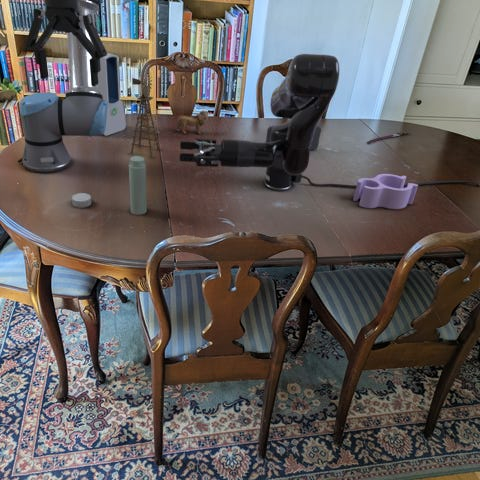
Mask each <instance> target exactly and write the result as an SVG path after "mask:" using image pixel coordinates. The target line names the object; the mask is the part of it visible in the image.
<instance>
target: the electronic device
mask: <svg viewBox="0 0 480 480" xmlns="http://www.w3.org/2000/svg"><path fill="white" fill-rule="evenodd" d="M100 67H101V70H100V72H98V84H97V89H98V91H99V92H100V93H101V94H102V95H103V100H106V101H107V120H106V128H105V132H104V134H103V135H102V136H105V137H107V136H110V135H112V134H113V135H114V134H117V133H119V132H121V131H124V130H125V129H126V127H127V123H126V114H125V107H124V102H123V101H122V100H121V91H120V70H119V69H120V68H119V56H118V55H115V54H112V53H109V52H107V55H106V56H105V57H102V58H100Z"/></svg>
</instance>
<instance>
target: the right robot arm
mask: <svg viewBox="0 0 480 480" xmlns="http://www.w3.org/2000/svg"><path fill="white" fill-rule="evenodd" d="M339 80H340V62H339V60H338V58H337V57H336V56H334V55H330V54H315V53H299V54H296V55H295V56H294V57H293V58H292V59H291V61H290V64H289V67H288V70H287V73H286V76H285V77H284V79H283V80H282V81H281V83H280V85H279V86H277V87H275V88H274V90H273V92H272V94H271V97H270V101H269V103H270V111H271V114H272V115H273V116H274V117H276V118H281V119H289V120H288V121H286V122H284V123H281V124H277V125H273V126H274V127H273V128H272V131H271V139H270V142H269V143H266V142H265V141H264V142H260V141H250V140H243V139H221V142H220V144H217V139H211V138H198V137H197V138H195V140H193V141H192V140H191V141H189V140H181V141H180V142H179V143H180V145H179V146H180V147H179V148H180V150H189V151H193V150H194V151H196V152H195V153H193V152H180V153H179V161H180V162H187V163H188V162H189V163H194V164H195V165H196V167H211V168H213V167H214V168H215V167H216V168H217V167H219V163H220V166H221V167H224V168H225V167H226V168H227V167H228V168H265V169H266V170H265V174H264V175H265V176H264V178H265V179H264V182H263V184H264V186H265V187H267V188H268V189H270V190H274V191H280V192H281V191H288V190H290V189H291V188H292V187H294V184H296V183H301V182H302V179H305V180H307V181H308V183H309V184H310V185H311V186H314V187H341V188H353V189H354V188H355V189H356V187H357V184H356V185H354V184H353V185H352V184H342V183H341V184H340V183H322V184H318V183H314V182H312V181H311V179H310V178H309V177H307V176H305V175H304V174H303V173H304V172H305V171H306V170H307V169H308V167H309V162H310V155H311V150H310V146H311V143H312V140H313V136H314V133H315V130H316V127H317V125H318V124H319V123H320V121H321V119H322V117H323V115H324V114H325V112H326V110H327V109H328V107H329V104H330V103H331V101H332V99H333V97H334V95H335V93H336V91H337V88H338V84H339ZM318 126H319V125H318ZM463 181H465V182H463ZM469 182H471V183H469ZM474 183H476V184H475V185H476V186H477V187H478V188H480V183H479V182H477V181H474V180H441V181H429V182H418V183H416V184H417V185H418V186H425V185H440V184H474ZM407 185H408V183H407V184H404V186H403V188H406V187H407Z"/></svg>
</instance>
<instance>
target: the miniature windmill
mask: <svg viewBox="0 0 480 480" xmlns="http://www.w3.org/2000/svg"><path fill="white" fill-rule="evenodd" d="M148 74H149V75H148ZM148 74H147V70H145V73H143V77H142V79H143V80H141V79H138V78H136V77H135V78H134V77H132V78H131V81H132V82H131V83H132V86H133V85H134V86H137V85H138V86H140V85H141V88H142V89H141V90H142V94H141V95H140V96H138V97H137V98H136V99H137V100H139V101H140V104H139V105H138V107H139V109H138V111H137V112H138V114H137V117H136V124H135V128H134V134H133V136H132V138H133V140H132V143H131V149H130V154H131V155H132V154H133V153H134V149H135V146H137V147H143V148H148V149H149V157H150V158H153V149H152V148H153V147H154V146H155V145H156V148H157V150H160V145H159V139H158V137H157V133H156V127H155V122H154V119H153V116H154V115H153V114H152V110H151V104H150V101H152V100H153V99H154V97H153V96H149V95H150V93H151V90H152V87H151V86H152V85H153V82H152V81H153V79H152V77H153V76H152V73H151V70H148ZM151 82H152V83H151ZM144 109H145V113H144ZM148 113H149V114H148ZM144 117H146V118H144ZM143 121H146V125H144V124H143ZM149 121H151V126H150V122H149ZM139 124H140V126H139ZM143 127H144V128H145V127H146V128H147V131H146V130H143ZM150 129H151V130H150ZM152 132H153V135H154V138H151V133H152ZM142 133H146V134H147V137H142ZM137 136H139V137H137ZM136 137H137V139H136ZM143 139H144V140H148V144H149V145H144V144H142V140H143ZM137 141H138V143H137V144H136V142H137ZM152 141H155V142H154V143H153V144H152Z"/></svg>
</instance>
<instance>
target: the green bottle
mask: <svg viewBox="0 0 480 480" xmlns="http://www.w3.org/2000/svg"><path fill="white" fill-rule="evenodd" d="M128 179H129V180H128V181H129V198H130V199H129V203H130V206H129V207H130V213H131V214H132V215H136V216H141V215H144V214H146V213H147V211H148V210H147V207H148V206H147V164H146V163H145V157H143V156H140V155H134V156H131V157H130V161H129V163H128Z"/></svg>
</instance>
